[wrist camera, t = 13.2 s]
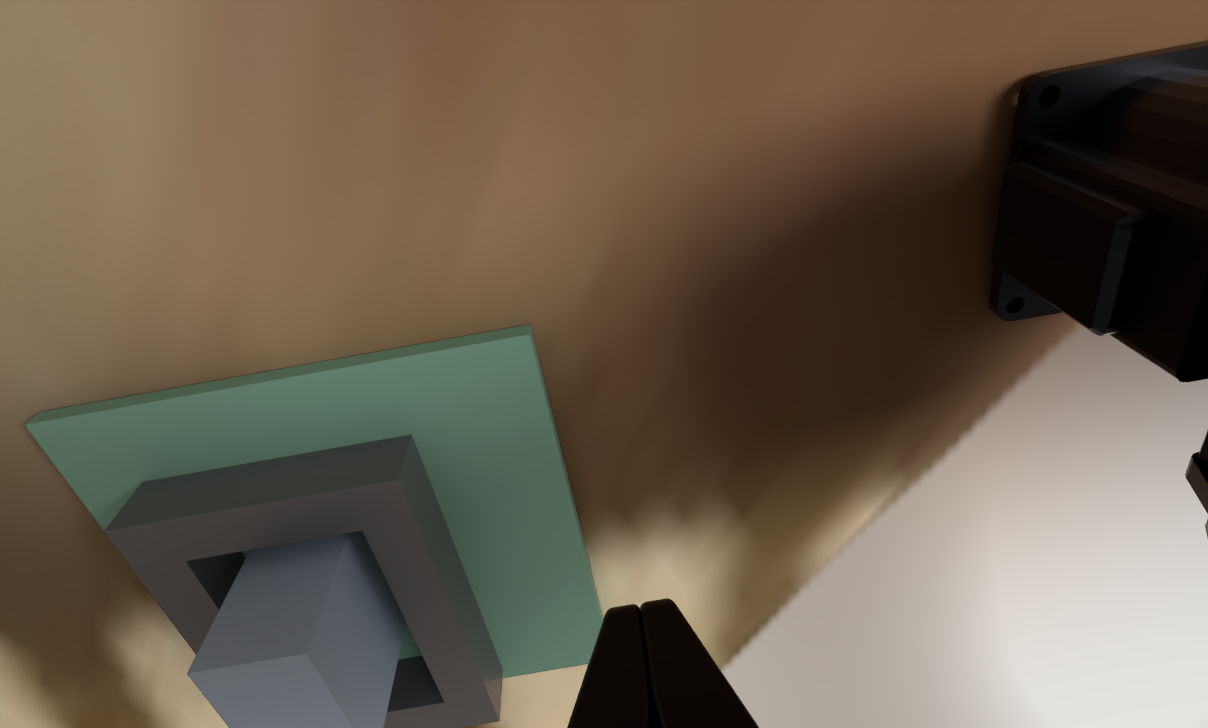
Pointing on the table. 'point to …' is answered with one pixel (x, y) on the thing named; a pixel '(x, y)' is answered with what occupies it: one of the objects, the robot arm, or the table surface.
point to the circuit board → (369, 413)
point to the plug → (304, 639)
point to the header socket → (314, 510)
